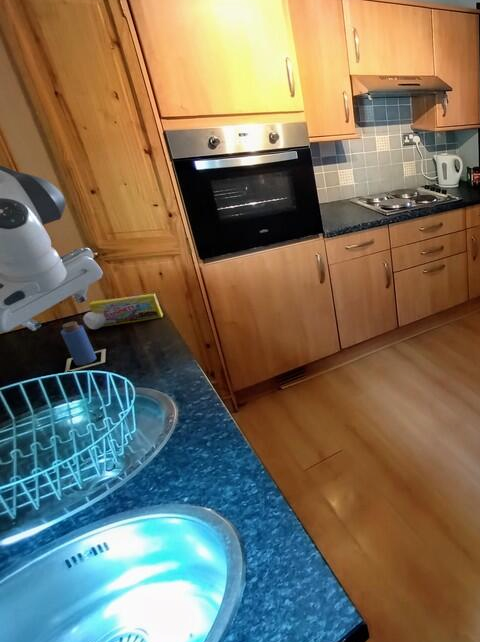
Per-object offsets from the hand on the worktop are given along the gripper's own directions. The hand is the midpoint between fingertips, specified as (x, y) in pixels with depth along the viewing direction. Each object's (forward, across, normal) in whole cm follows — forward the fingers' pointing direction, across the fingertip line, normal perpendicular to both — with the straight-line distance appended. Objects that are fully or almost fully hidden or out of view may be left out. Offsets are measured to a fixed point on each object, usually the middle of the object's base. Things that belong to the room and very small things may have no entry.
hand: (58, 313), depth 100 cm
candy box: (+39, -21, -16) cm, 47 cm away
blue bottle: (+30, -3, -8) cm, 31 cm away
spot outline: (+30, -3, -8) cm, 31 cm away
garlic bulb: (+40, -16, -22) cm, 48 cm away
